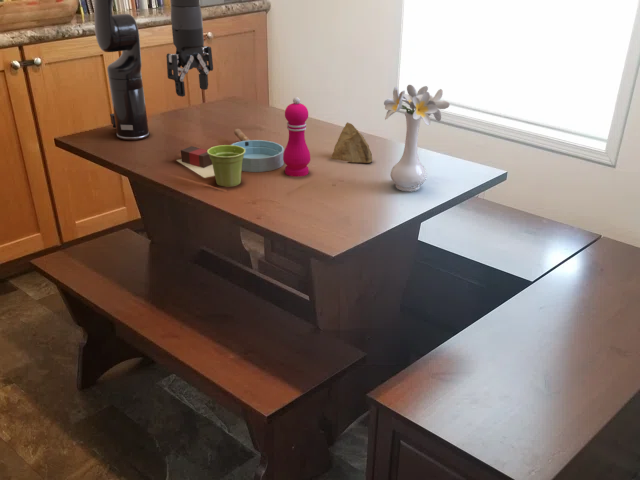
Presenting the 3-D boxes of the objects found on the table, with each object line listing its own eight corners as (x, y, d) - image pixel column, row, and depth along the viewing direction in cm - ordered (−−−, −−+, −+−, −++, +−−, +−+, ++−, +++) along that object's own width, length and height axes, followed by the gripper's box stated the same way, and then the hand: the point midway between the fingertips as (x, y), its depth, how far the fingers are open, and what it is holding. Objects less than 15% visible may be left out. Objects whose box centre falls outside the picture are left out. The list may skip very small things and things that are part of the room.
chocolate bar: (181, 161, 187) (180, 150, 185) (192, 157, 190) (191, 145, 188) (203, 168, 183) (202, 156, 181) (214, 163, 186) (214, 151, 185)
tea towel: (176, 162, 188) (176, 159, 188) (205, 156, 193) (205, 154, 192) (204, 179, 178) (204, 177, 177) (234, 173, 182) (234, 170, 182)
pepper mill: (314, 171, 185) (315, 95, 174) (304, 180, 179) (304, 102, 168) (289, 167, 187) (288, 92, 176) (279, 176, 181) (277, 98, 170)
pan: (217, 161, 190) (216, 146, 187) (265, 151, 198) (264, 136, 195) (246, 178, 180) (245, 162, 177) (295, 166, 188) (295, 151, 185)
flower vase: (445, 181, 182) (457, 83, 168) (412, 203, 169) (422, 99, 155) (403, 171, 188) (411, 75, 174) (367, 191, 175) (373, 89, 161)
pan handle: (251, 146, 193) (251, 139, 192) (244, 147, 193) (244, 140, 192) (240, 134, 202) (239, 127, 201) (233, 134, 202) (233, 128, 201)
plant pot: (203, 181, 177) (200, 148, 172) (235, 174, 182) (234, 142, 177) (220, 193, 171) (218, 159, 166) (253, 186, 175) (252, 152, 170)
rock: (382, 152, 193) (358, 139, 198) (373, 132, 185) (348, 119, 190) (357, 180, 192) (333, 166, 197) (347, 162, 184) (322, 147, 189)
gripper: (195, 19, 176) (200, 84, 185) (155, 26, 166) (162, 95, 175) (218, 23, 173) (221, 89, 182) (178, 31, 163) (184, 101, 172)
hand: (192, 92), depth 178 cm, fingers open, 8 cm apart
